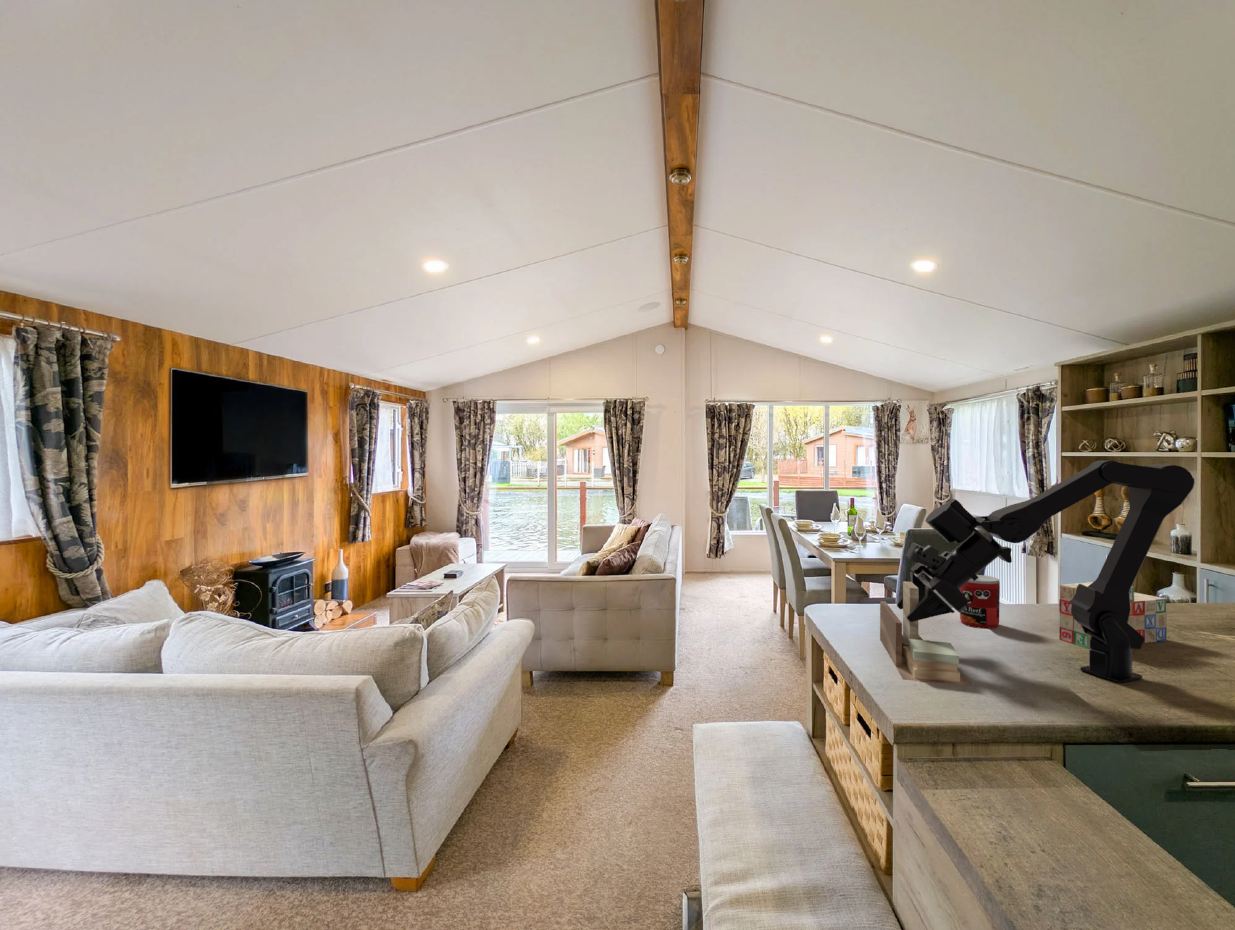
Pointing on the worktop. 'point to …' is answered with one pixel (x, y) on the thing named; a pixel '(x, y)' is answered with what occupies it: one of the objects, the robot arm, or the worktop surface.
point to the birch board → (908, 605)
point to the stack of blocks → (1143, 618)
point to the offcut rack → (901, 644)
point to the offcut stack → (932, 660)
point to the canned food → (981, 602)
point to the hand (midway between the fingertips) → (903, 613)
